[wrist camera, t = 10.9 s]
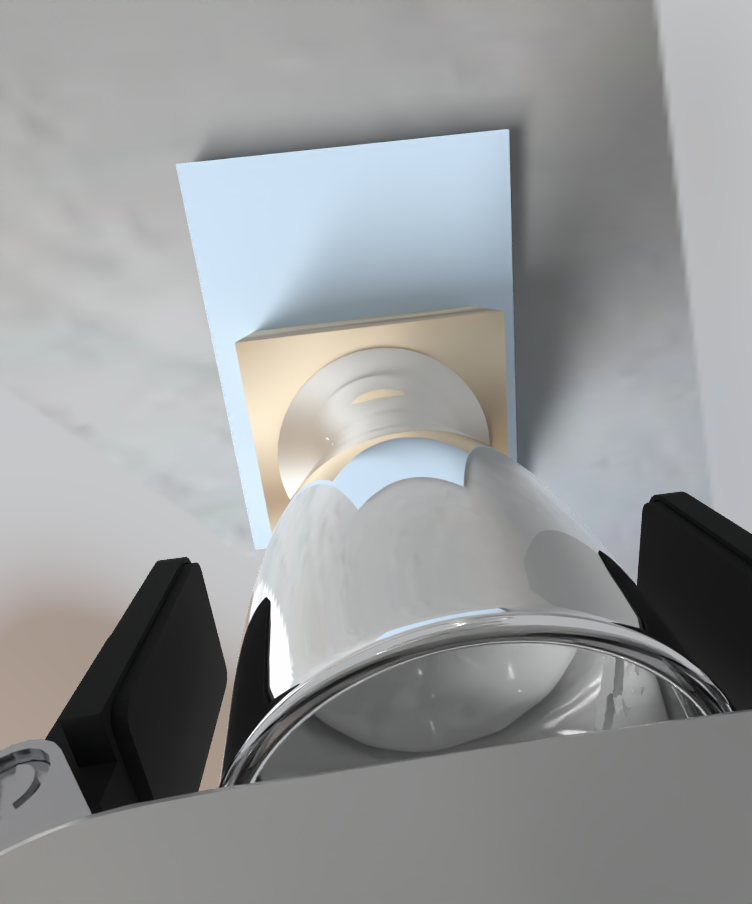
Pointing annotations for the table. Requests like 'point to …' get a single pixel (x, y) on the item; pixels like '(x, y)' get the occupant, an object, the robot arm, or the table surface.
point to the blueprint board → (347, 249)
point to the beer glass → (436, 606)
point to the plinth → (361, 355)
